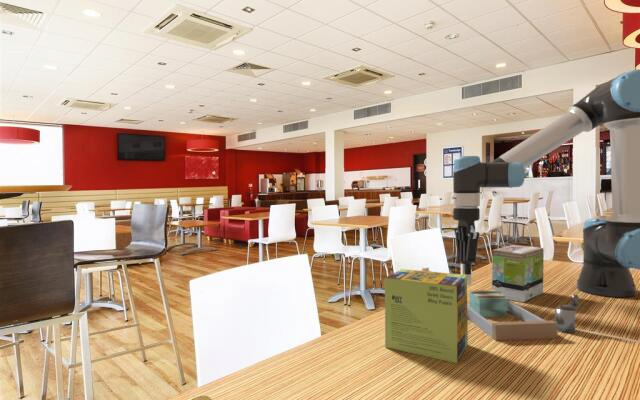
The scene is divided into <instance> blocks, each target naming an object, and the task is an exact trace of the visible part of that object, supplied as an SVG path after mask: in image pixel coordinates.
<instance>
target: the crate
mask: <svg viewBox="0 0 640 400" xmlns="http://www.w3.org/2000/svg"><path fill="white" fill-rule="evenodd" d="M468 293H469V294H468V295H469V296H468V297H469V299H468V300H469V303H468V306H469V307H470V308H472V309H473V310H474V311H476V312H477V313H478V314H480V315H481V316H483V317H484V318H495V317H496V318H497V317H498V318H499V317H500V318H501V317H507V310H506V298H505V295H503V294H498V291H497V290H492V289H483V290H482V289H480V290H479V289H478V290H477V289H475V290H469V291H468Z"/></svg>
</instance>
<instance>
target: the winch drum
mask: <svg viewBox="0 0 640 400" xmlns="http://www.w3.org/2000/svg"><path fill="white" fill-rule="evenodd" d="M576 310H579V295H577V294H571V304H560V306H556V307H555V308H554V317H555V318H554V322H556V323H557V332H561V333H564V334H575V333H576Z"/></svg>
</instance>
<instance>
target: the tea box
mask: <svg viewBox="0 0 640 400" xmlns="http://www.w3.org/2000/svg"><path fill="white" fill-rule="evenodd" d="M544 250H545V249H544V247H538V246H527V245H518V244H511V245H505V246H502V247H499V248H495V249H492V264H491V265H492V267H491V270H492V271H491V290H497V291H498V294H503V295H505V298H506V299H507V300H509V301H512V302H514V301H515V302H519V303H525V302H526V301H528V300H530V299H533V298H534V297H537V296H539V295H541V294H543V293H544V263H545V262H544V260H545V259H544V256H545V255H544V254H545V253H544V252H545V251H544Z"/></svg>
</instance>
